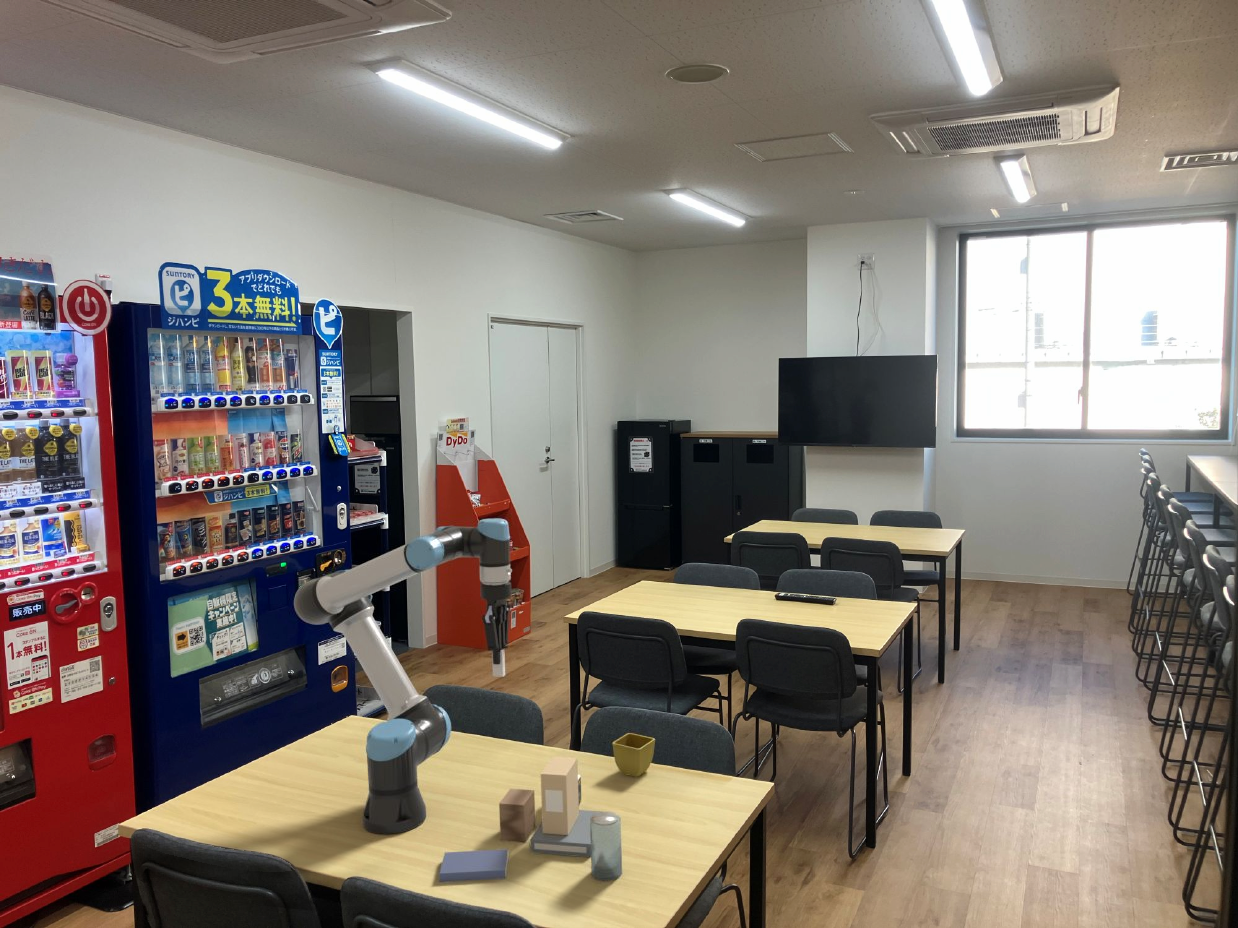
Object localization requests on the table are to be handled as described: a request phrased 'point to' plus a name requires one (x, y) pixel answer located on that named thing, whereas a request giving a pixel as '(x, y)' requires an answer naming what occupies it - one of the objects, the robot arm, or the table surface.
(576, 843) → the podium
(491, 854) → the notebook
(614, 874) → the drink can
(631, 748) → the flower pot
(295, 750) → the table surface
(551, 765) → the carton
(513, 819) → the rest block
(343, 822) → the table surface
